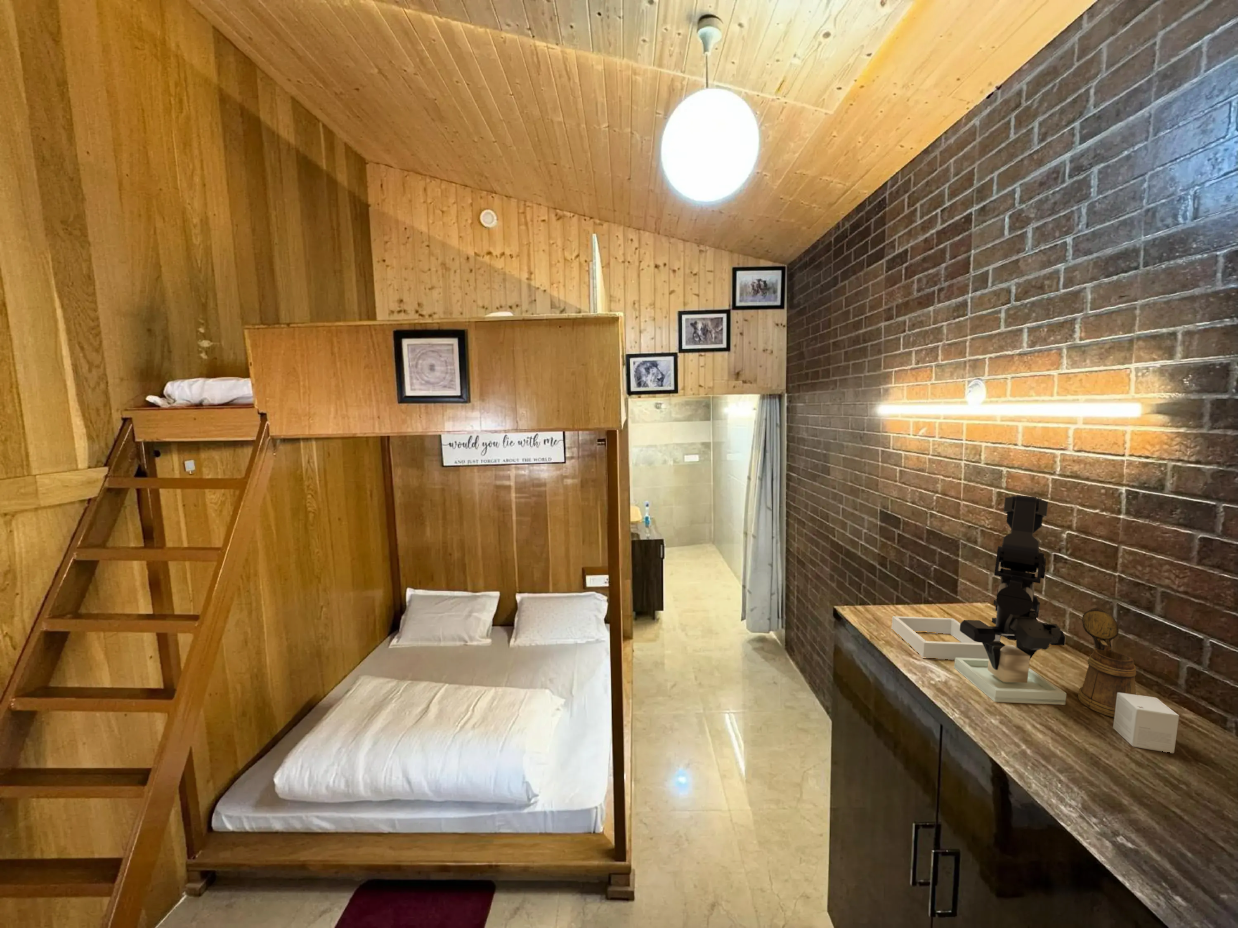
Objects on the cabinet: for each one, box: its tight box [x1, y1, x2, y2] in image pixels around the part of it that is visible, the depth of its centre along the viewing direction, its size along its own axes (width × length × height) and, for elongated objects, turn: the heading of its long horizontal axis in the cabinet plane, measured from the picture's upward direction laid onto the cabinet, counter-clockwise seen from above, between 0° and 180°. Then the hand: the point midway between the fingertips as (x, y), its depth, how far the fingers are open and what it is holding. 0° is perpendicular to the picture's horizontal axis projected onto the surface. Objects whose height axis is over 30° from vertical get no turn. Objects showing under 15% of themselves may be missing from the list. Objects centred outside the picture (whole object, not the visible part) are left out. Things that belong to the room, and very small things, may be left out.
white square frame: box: [891, 615, 989, 661], centre depth 132 cm, size 16×16×4 cm
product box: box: [1112, 693, 1180, 754], centre depth 94 cm, size 6×6×7 cm
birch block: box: [988, 644, 1031, 683], centre depth 112 cm, size 5×5×6 cm
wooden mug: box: [1077, 606, 1137, 718], centre depth 106 cm, size 9×14×18 cm, turn 157°
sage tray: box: [953, 658, 1067, 706], centre depth 113 cm, size 14×14×2 cm
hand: (1007, 669), depth 112 cm, fingers closed on birch block, 5 cm apart
